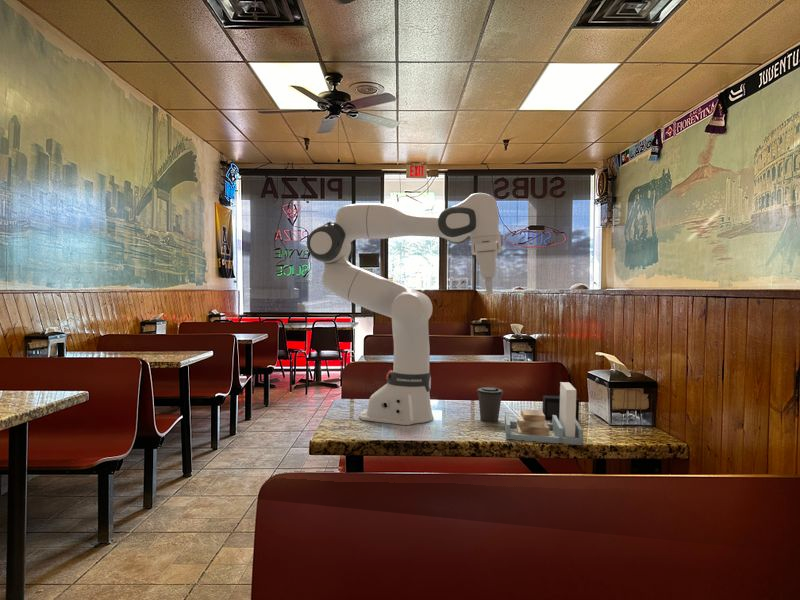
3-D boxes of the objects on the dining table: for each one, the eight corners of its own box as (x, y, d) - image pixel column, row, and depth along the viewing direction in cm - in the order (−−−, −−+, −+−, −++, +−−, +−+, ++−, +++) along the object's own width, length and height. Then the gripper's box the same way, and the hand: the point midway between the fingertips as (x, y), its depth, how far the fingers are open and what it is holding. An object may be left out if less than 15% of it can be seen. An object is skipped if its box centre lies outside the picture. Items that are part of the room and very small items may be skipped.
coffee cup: (502, 424, 152) (503, 390, 152) (475, 422, 154) (476, 389, 154) (502, 418, 160) (503, 386, 160) (476, 416, 162) (477, 384, 162)
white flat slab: (565, 442, 135) (566, 389, 135) (559, 430, 147) (560, 382, 146) (574, 443, 134) (576, 390, 134) (568, 431, 146) (569, 382, 146)
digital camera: (544, 421, 158) (545, 398, 158) (542, 416, 163) (542, 395, 163) (579, 422, 157) (580, 400, 157) (575, 418, 162) (576, 396, 162)
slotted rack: (506, 439, 136) (506, 424, 136) (504, 425, 151) (505, 412, 151) (582, 445, 132) (583, 429, 132) (573, 430, 147) (574, 416, 147)
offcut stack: (518, 437, 138) (518, 415, 138) (516, 428, 148) (516, 407, 148) (549, 440, 136) (550, 417, 136) (545, 430, 146) (546, 409, 146)
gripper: (476, 251, 163) (479, 294, 163) (474, 245, 143) (478, 294, 143) (496, 249, 162) (499, 293, 162) (497, 243, 142) (500, 292, 142)
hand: (489, 293), depth 153 cm, fingers open, 8 cm apart
